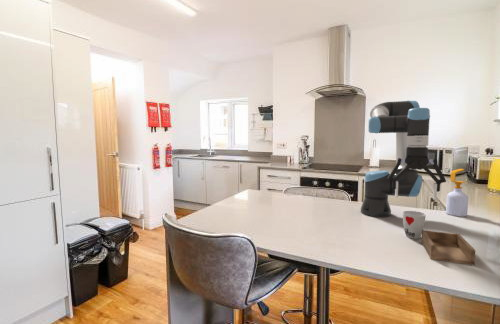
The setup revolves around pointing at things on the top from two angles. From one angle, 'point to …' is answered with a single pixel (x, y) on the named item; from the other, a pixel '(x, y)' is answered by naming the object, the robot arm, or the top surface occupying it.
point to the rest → (448, 247)
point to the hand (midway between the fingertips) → (414, 198)
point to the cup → (413, 223)
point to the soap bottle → (457, 198)
